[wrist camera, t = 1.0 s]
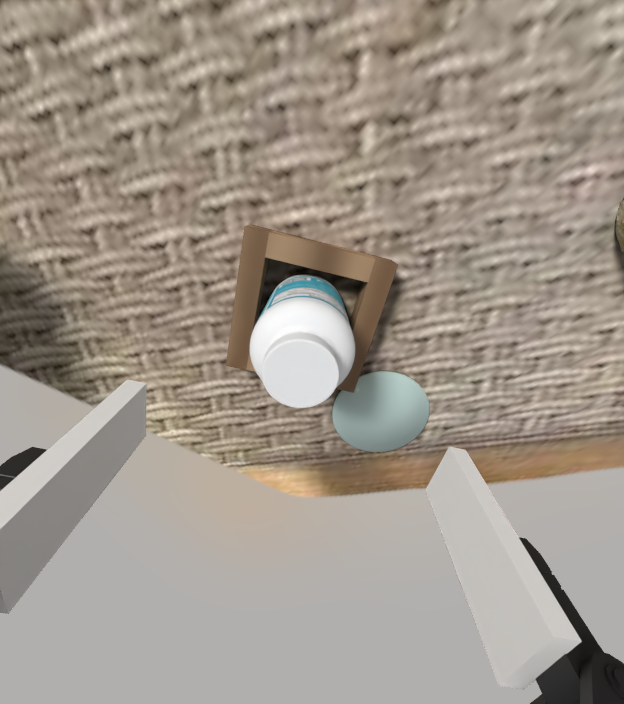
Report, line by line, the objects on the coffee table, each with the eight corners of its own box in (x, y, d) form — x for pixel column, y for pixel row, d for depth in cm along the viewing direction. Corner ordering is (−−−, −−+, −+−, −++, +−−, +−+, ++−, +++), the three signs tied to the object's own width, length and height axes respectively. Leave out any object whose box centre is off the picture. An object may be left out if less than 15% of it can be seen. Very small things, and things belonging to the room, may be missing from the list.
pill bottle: (308, 357, 33) (303, 445, 20) (253, 311, 31) (211, 379, 18) (359, 307, 30) (388, 374, 18) (304, 254, 28) (294, 289, 16)
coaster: (322, 439, 37) (322, 442, 37) (347, 361, 33) (347, 362, 32) (407, 456, 38) (408, 459, 38) (443, 382, 34) (445, 384, 33)
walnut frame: (233, 353, 33) (226, 365, 30) (251, 224, 27) (244, 226, 25) (350, 379, 34) (353, 392, 31) (390, 259, 28) (398, 264, 26)
